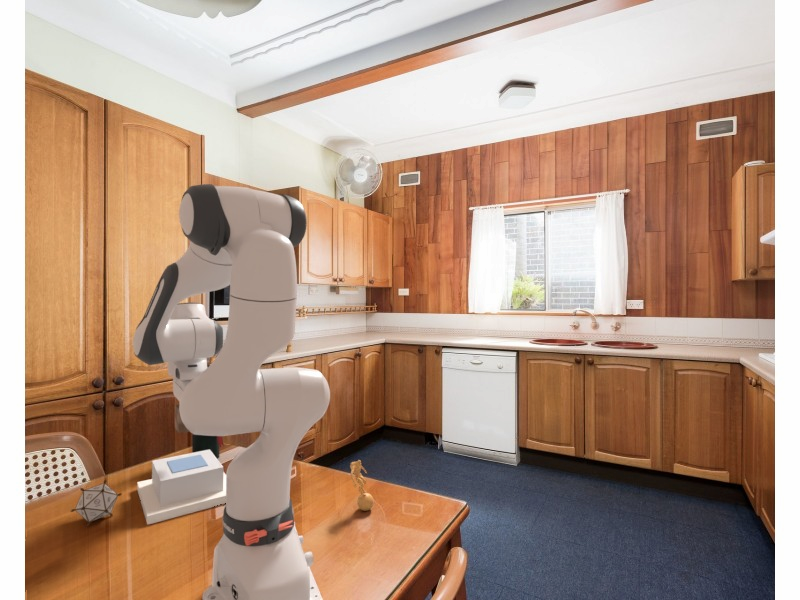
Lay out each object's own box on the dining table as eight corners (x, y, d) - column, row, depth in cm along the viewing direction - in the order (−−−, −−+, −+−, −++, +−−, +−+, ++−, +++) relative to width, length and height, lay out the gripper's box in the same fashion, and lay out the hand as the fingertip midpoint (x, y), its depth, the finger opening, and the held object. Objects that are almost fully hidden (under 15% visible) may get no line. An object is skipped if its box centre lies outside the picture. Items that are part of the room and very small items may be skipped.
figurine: (368, 519, 101) (369, 469, 101) (343, 516, 102) (344, 466, 102) (377, 502, 109) (378, 455, 109) (355, 499, 111) (356, 452, 110)
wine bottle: (212, 466, 128) (213, 365, 127) (185, 460, 132) (186, 362, 131) (231, 456, 136) (231, 360, 135) (205, 451, 139) (205, 358, 138)
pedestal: (238, 499, 109) (239, 467, 109) (147, 524, 97) (147, 488, 97) (218, 471, 125) (218, 443, 125) (137, 489, 113) (137, 458, 113)
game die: (99, 530, 101) (116, 484, 107) (117, 528, 97) (134, 480, 102) (56, 525, 95) (77, 477, 101) (73, 522, 91) (94, 472, 96)
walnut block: (200, 429, 110) (200, 406, 110) (178, 433, 107) (178, 409, 107) (196, 424, 114) (196, 401, 114) (174, 427, 111) (174, 404, 111)
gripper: (166, 360, 116) (166, 412, 117) (181, 375, 100) (181, 434, 100) (192, 358, 120) (192, 408, 121) (210, 372, 104) (210, 429, 104)
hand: (187, 420), depth 110 cm, fingers closed on walnut block, 5 cm apart
